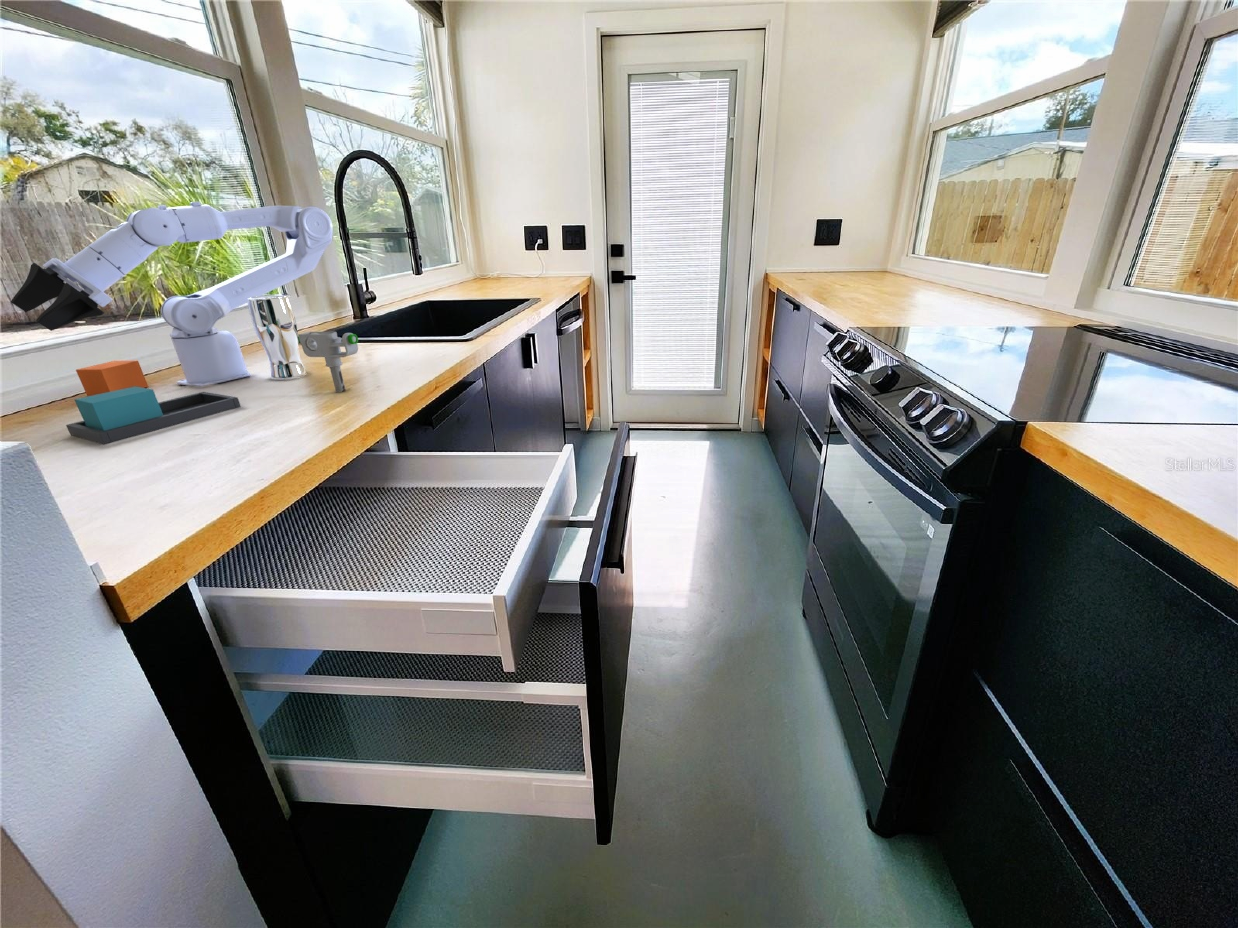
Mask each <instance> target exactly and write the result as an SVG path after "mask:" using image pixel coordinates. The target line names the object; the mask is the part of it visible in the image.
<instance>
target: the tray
mask: <svg viewBox="0 0 1238 928" xmlns="http://www.w3.org/2000/svg"><path fill="white" fill-rule="evenodd" d="M158 403H159V406H160V408H161V411H162V413H163V416H159V417H156V418H152V419H148V420H144V421H140V422H136V423H133V424H129V425H125V426H121V427H117V428H113V429H110V430H106V431H101V430H97V429H93V428H89V427H87V426H86V424H85V422H84V420H80V421H77V422H73V423H68V424H65V426H66V429H67V431H68V433H69V435H70V436H71V437H74V438H79V439H82V440H86V441H90V442H93V443H97V444H99V445H103V446H105V445H108V444H111V443H115V442H119V441H123V440H127V439H130V438H133V437H137V436H141V435H144V434H148V433H151V432H155V431H159V430H162V429H166V428H169V427H173V426H177V425H180V424H181V425H182V424H184V423H187V422H190V421H194V420H199V419H202V418H206V417H208V416H212V415H216V414H219V413H224V412H227V411H230V410H234V409H239V408H241V403H240V400H239V397H237V396H233V395H225V394H220V393H213V392H206V391H199V392H195V393H193V394H187V395H185V396H180V397H175V398H171V399H167V400H163V401H158Z"/></svg>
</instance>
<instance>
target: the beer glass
mask: <svg viewBox="0 0 1238 928" xmlns="http://www.w3.org/2000/svg"><path fill="white" fill-rule="evenodd" d="M246 299H247V305H248V306H247V307H248V312H249V316H250V320H251V324H252V327H253V329H254V332H255V333H256V334H255V335H256V336H257V338H258V340H259V342H260V344H261V346H262V348H263V350H264V352H265V354H266V357H267V360H268V362H269V369H270V377H271V378H270V379H272V380H273V381H289V380H295V379H300V378H304V377H305V376H307V375H308V372H307V370H306V368H305V365H304V364H303V361H302V358H301V354H300V346H299V341H298V334H299V333H298V327H297V321H296V317H295V314H294V311H293V308H292V305H291V302H290V299H289V295H288V294H267V295H266V294H265V295H262V296H255V297H249V298H246Z"/></svg>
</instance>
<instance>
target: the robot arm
mask: <svg viewBox="0 0 1238 928" xmlns="http://www.w3.org/2000/svg"><path fill="white" fill-rule="evenodd" d="M327 213H328V212H326V211H325V210H323V209H322V208H320V207H317V206H306V207H304V208H302V206H297V205H268V206H261V207H251V208H243V209H242V208H241V209H233V210H225V211H219V210H217V209H216V208H214V207H213V206H211V205H209V204H202V203H201V201H191V202H189V205H183V206H172V207H167V205H166V204H159V205H157V207H153V206H152V207H149V208H143V209H139V210H137V211H134V212H130V213H129V214H128V215H127V217H126V220H125V222H121V223H120V224H118V225H117V226H116V228H115V229H114V228H113V229H109V230H108V231H107V232H106V233H104V234H102V235H101V236H100V237H98V238H97V239H96V240H94V241H93V242H91V243H89V244H88V245H87V246H86V247H84V248H83V249H81V250H80V251H79V252H77V253H76V254H74V255H73V256H72V257H70V258H69V259H67V260H66V261H65V262H63V261H61V260H60V259H59V258H57V257H55V258H51V259H49V260H48V261H47V262H45V263H43V264H42V266H40V265H38V263H36V262H33V263H31V264H30V268H29V271H28V274H27V277H26V279H25V281H24V283H22V286H21V287H20V288H19V290H18V291H17V292H16V293H15V294H14V296H13V297H12V299H10V303H11V304H13V305H14V306H16V307H17V308H19V309H20V310H22V311H23V312H25V313H28V312H31V311H32V310H35V309H36V308H38V307H40V306H41V305H43V304H45V303H47V302H48V301H51V300H53V299H55V300H54V301H53V302H52V303H51V304H50V305H48V307H47V308H46V309H44V311H42V313H40V315H38V317H37V319H36V320H35V321H36V322H37V323H38V324H40V325H41V326H42V327H44V328H45V329H47V330H49V331H50V332H52V331H55V330H58V329H60V328H62V327H64V326H67V325H69V324H72V323H75V322H77V321H80V320H84V319H88V318H93V317H100V316H101V317H102V316H103V315H104V314H105V311H104V310H102V309H100V308H99V306H100V307H101V308H105V306H107V305H108V304H109V303H111V302H112V301H113V300H114V299H113V298H112V297H110V295H108V294H106V292H105V291H106V290H108V289H109V288H110V287H112V286H113V285H114V284H116V283H117V282H118V281H120V280H121V279H123V278H124V277H125V276H126V275H127V274H129V273H130V272H131V271H133V270H135V269H136V268H137V267H138V266H139V265H141V264H142V263H143V262H145V261H147V259H148V257H149V256H150V255H152V253H154V252H155V251H157V250H158V249H159V247H162V246H167V247H170V246H171V245H173V244H175V243H176V242H178V243H180V244H186V243H194V242H195V243H196V242H202V241H203V242H205V241H213V240H221V239H222V238H223V237H224V235H225V234H226V232H227V231H228V230H239V229H241V230H242V229H251V228H252V229H253V228H264V227H265V228H266V227H269V228H272V229H274V230H277V231H278V232H280V233H285V239H286V249H285V250H286V251H285V253H283V254H281V255H279V256H277V257H275V258H273V259H271V260H270V259H269V260H268V261H265V262H264V263H261V264H259V265H257V266H255V267H252V268H250V269H248V270H246V271H244V272H241V273H240V274H237V275H234V276H233V277H231V278H228V279H226V280H224V281H222V282H220V283H217V284H215V285H213V286H211V287H209V288H205V289H202V290H199V291H195V292H194V293H193V292H192V294H191V293H190V294H188V295H173V296H170V297H168V298H166V299H165V300H164V301H163V303H162V304H161V308H160V313H161V317H162V319H163V321H164V322H165V323H166V324H167V325H169V326H170V327H172V331H171V333H169V336H170V338H171V342H172V345H173V347H174V350H175V354H176V356H177V358H178V361H179V364H180V367H181V369H182V371H183V375H184V377H185V379H181V380H178V381H176V384H177V385H182V386H196V387H202V386H207V385H216V384H221V383H225V382H229V381H234V380H237V379H241V378H242V379H243V378H246V377H250V376H251V375H252V374H251V372H248V369H247V365H246V362H245V358H244V356H243V353H242V350H241V346H240V344H239V342H238V339H237V338H236V337H235V335H234V334H233V333H232V332H230V331H228V330H218V328H217V327H214V326H215V324H216V323H217V322H218V321H219V320H221V319H223V318H225V317H226V316H227V315H228V314H229V313H230V312H231V311H233V310H235V309H237V308H239V307H241V306H243V305H245V304H248V302H247V299H246V298H249V297H255V296H265V295H266V294H268V293H270V292H272V291H274V290H276V289H278V288H280V287H282V286H284V285H286V284H288V283H290V282H292V281H295V280H297V279H298V278H301V277H303V276H306V275H307V274H310V272H313V271H314V270H315V269H316V268H317V266H318V264H319V262H320V260H321V258H322V256H323V255H324V252H325V251H326V249H327V248H328V247H329V245H331V243H332V242H333V231H334V228H333V227H334V226H333V222H332V219H331V218H330V216H329V215H328V214H327ZM76 283H77V284H76Z"/></svg>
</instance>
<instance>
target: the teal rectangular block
mask: <svg viewBox="0 0 1238 928" xmlns="http://www.w3.org/2000/svg"><path fill="white" fill-rule="evenodd" d="M74 403H75V404H76V407H77V409H78V412H79V414H80V415H81V417H82V421H84V422H85V424H86V426H87V427H89V428H93V429H97V430H101V431H106V430H110V429H113V428H117V427H121V426H125V425H129V424H133V423H136V422H140V421H144V420H148V419H152V418H156V417H159V416H163V413H162V411H161V408H160V406H159V401H158V398H157V395H156V394H155V390H154V389H151V388H148V387H146V388H141V387H130V388H126V389H121V390H116V391H112V392H107V393H102V394H98V395H93V396H84V397H79V398H75V399H74Z"/></svg>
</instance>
